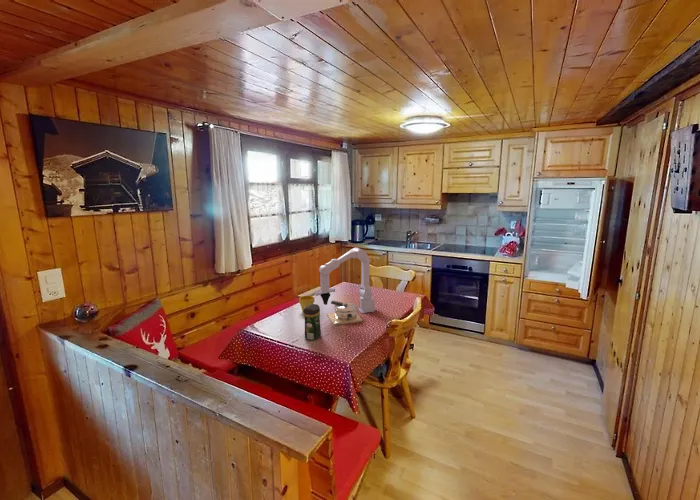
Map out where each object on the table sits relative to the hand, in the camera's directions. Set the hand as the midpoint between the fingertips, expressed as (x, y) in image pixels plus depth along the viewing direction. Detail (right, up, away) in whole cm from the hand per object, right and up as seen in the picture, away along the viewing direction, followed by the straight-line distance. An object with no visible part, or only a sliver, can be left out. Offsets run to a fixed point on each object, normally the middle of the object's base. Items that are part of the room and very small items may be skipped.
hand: (325, 304), depth 212 cm
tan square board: (+12, -9, +1) cm, 14 cm away
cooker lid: (+12, -2, +1) cm, 12 cm away
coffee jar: (-5, -14, -27) cm, 31 cm away
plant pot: (-13, -7, +13) cm, 20 cm away
